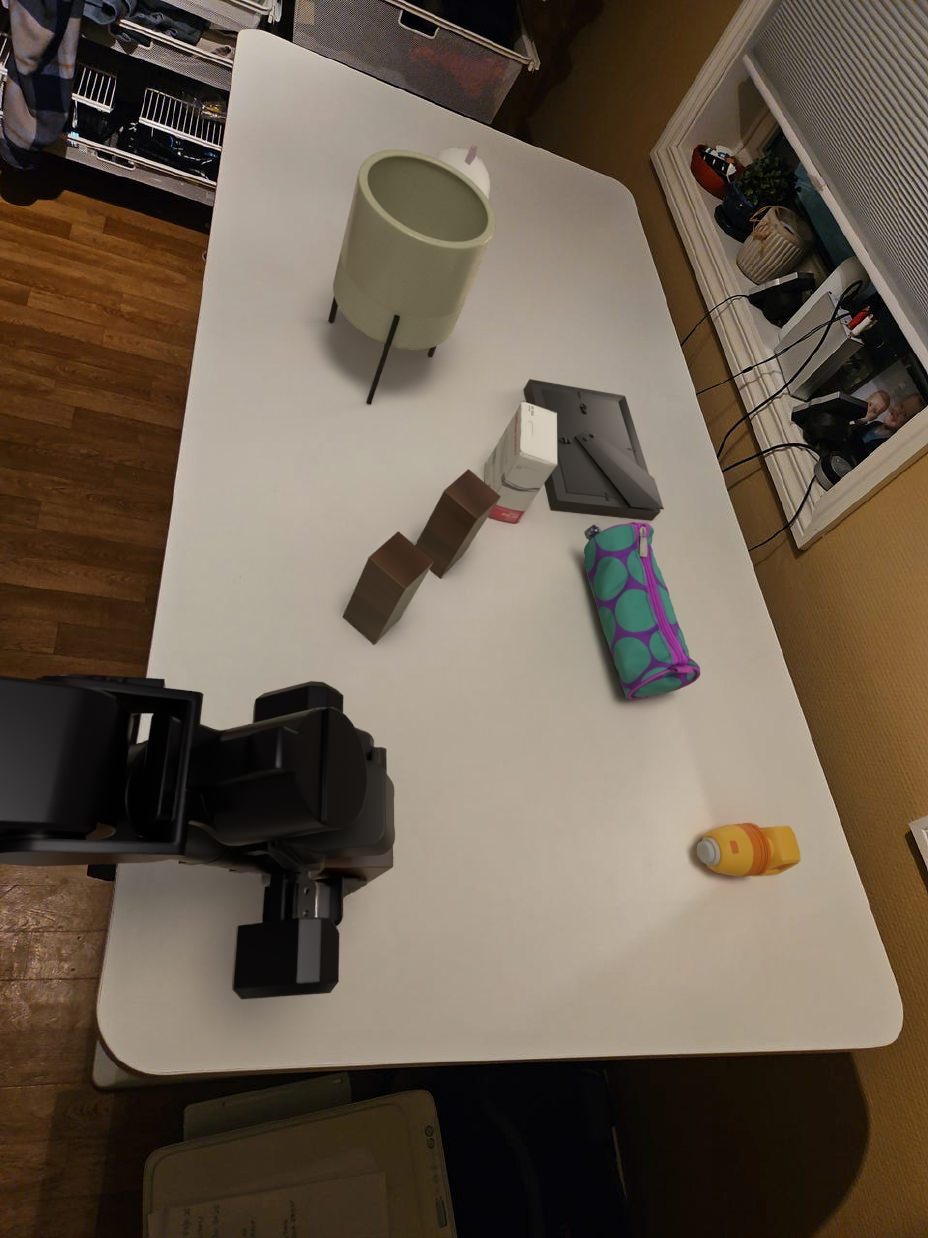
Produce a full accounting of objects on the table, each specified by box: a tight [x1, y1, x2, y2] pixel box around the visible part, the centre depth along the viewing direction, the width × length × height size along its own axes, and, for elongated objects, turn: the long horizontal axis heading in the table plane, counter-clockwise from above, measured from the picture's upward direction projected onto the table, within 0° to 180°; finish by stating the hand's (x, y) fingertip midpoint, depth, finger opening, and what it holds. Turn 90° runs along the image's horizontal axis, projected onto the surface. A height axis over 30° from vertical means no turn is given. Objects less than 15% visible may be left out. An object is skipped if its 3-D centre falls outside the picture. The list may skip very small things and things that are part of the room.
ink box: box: [483, 401, 557, 524], centre depth 87 cm, size 9×5×12 cm, turn 176°
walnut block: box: [342, 530, 434, 645], centre depth 72 cm, size 4×4×12 cm
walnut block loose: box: [311, 845, 394, 894], centre depth 52 cm, size 4×4×12 cm
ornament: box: [432, 144, 491, 199], centre depth 110 cm, size 10×10×12 cm
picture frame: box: [523, 378, 665, 521], centre depth 99 cm, size 16×3×21 cm
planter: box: [327, 149, 497, 405], centre depth 85 cm, size 15×16×23 cm
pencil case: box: [583, 521, 701, 700], centre depth 84 cm, size 21×9×10 cm, turn 11°
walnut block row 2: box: [414, 469, 501, 579], centre depth 79 cm, size 4×4×12 cm
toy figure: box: [696, 822, 801, 877], centre depth 77 cm, size 5×6×12 cm
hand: (361, 848), depth 52 cm, fingers closed on walnut block loose, 4 cm apart
